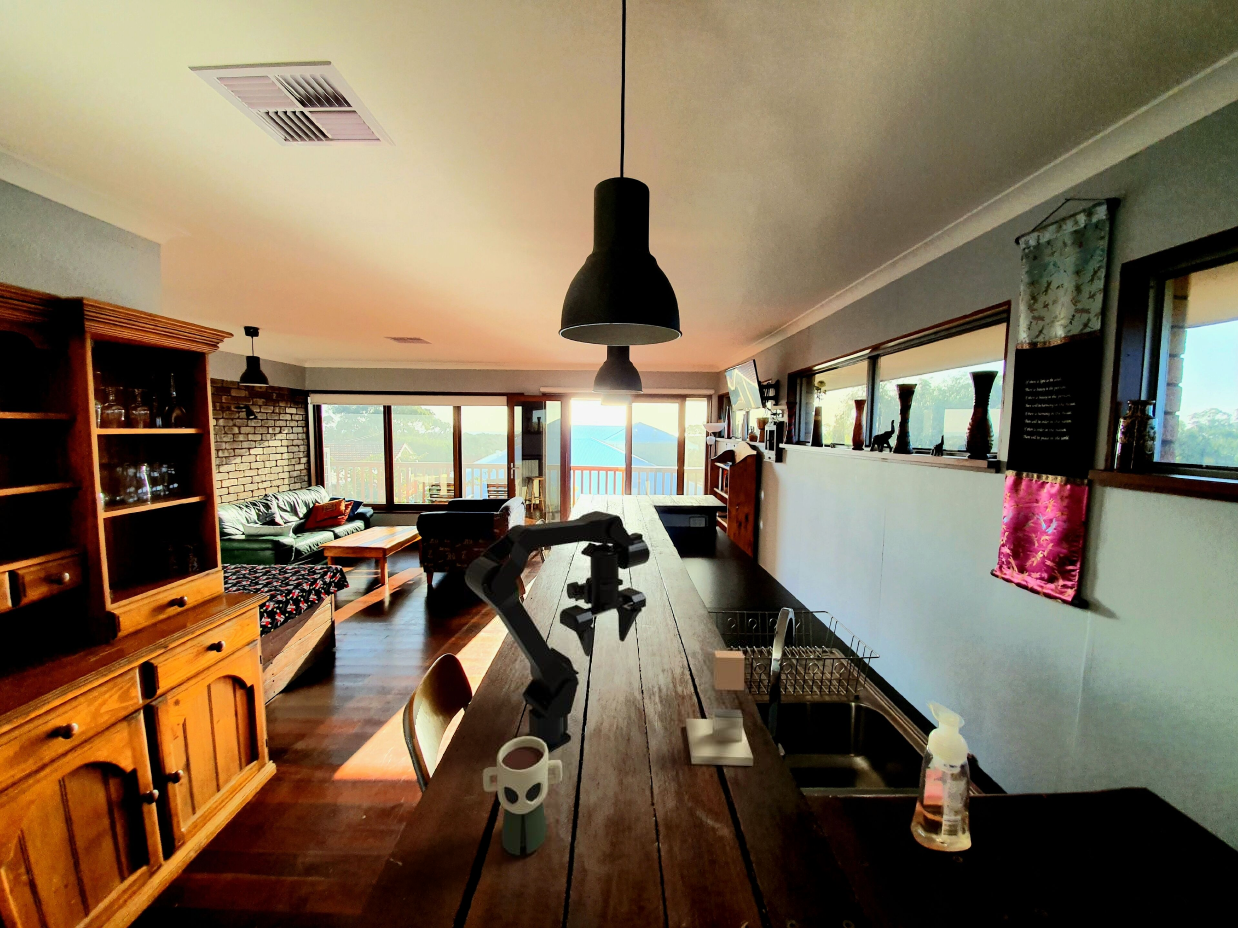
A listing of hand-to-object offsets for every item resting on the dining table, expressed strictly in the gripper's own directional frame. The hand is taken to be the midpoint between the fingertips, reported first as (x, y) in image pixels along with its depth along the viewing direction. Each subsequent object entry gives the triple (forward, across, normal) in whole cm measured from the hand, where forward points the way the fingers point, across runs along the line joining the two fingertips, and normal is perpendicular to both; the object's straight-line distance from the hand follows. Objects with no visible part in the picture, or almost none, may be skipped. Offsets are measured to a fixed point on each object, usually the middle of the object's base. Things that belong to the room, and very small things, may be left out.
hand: (605, 647), depth 94 cm
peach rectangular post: (+2, -10, +23) cm, 25 cm away
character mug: (+13, +28, +15) cm, 34 cm away
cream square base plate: (+13, -8, +22) cm, 27 cm away
